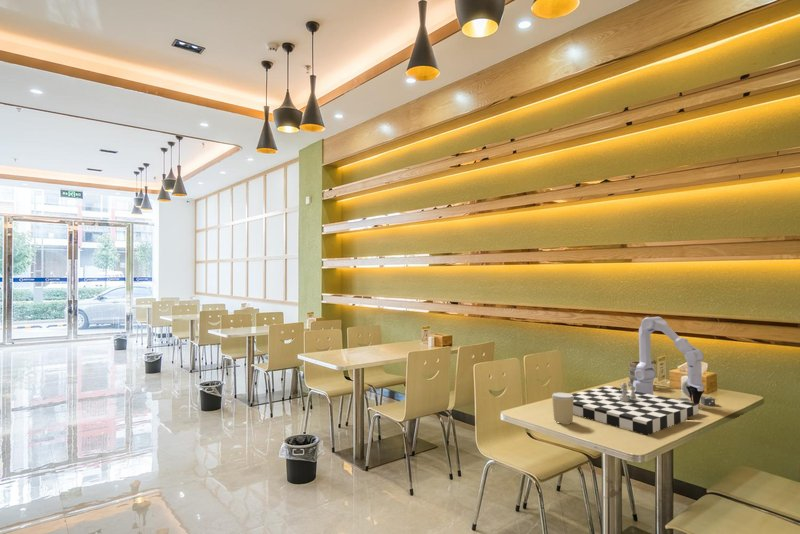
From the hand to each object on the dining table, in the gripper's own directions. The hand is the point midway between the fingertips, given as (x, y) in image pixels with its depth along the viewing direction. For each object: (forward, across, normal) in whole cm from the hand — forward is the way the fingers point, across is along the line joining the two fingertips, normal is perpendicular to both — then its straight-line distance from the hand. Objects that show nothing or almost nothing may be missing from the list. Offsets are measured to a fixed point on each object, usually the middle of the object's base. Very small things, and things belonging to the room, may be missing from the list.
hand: (695, 402), depth 220 cm
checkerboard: (+4, -12, +34) cm, 37 cm away
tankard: (+4, +48, +10) cm, 50 cm away
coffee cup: (+4, -34, +64) cm, 72 cm away
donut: (+4, +26, -7) cm, 27 cm away
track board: (+3, +7, 0) cm, 8 cm away
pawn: (+2, 0, 0) cm, 2 cm away
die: (+4, +8, -8) cm, 12 cm away
